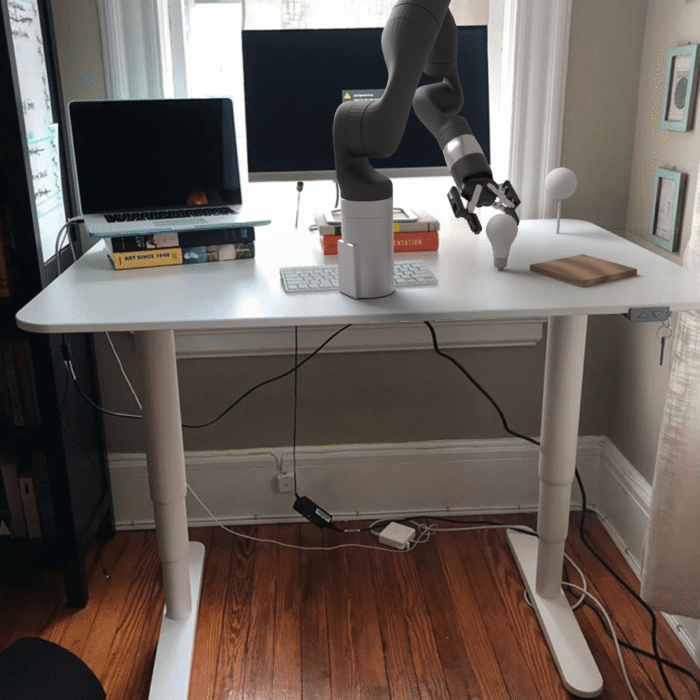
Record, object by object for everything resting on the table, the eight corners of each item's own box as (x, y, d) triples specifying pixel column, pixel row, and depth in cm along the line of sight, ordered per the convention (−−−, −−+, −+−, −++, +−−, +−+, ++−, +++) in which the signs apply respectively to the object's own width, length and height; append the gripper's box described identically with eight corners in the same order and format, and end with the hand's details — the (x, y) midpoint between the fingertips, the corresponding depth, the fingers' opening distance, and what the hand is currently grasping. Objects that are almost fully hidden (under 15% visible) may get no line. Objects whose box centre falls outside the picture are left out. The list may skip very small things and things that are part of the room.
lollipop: (570, 229, 188) (575, 165, 182) (575, 236, 181) (580, 169, 176) (540, 230, 188) (543, 165, 183) (544, 236, 182) (547, 170, 176)
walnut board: (582, 287, 144) (582, 280, 144) (529, 270, 155) (529, 264, 155) (636, 275, 150) (637, 268, 150) (582, 259, 162) (582, 254, 161)
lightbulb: (492, 274, 153) (494, 218, 150) (479, 267, 159) (481, 212, 155) (521, 271, 155) (524, 215, 151) (508, 264, 160) (510, 209, 156)
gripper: (443, 154, 155) (474, 223, 149) (504, 148, 161) (536, 214, 155) (429, 178, 162) (459, 245, 156) (488, 171, 167) (519, 236, 161)
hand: (497, 229), depth 155 cm, fingers open, 8 cm apart
